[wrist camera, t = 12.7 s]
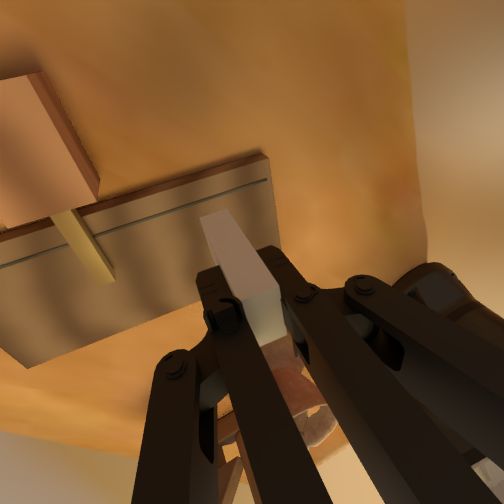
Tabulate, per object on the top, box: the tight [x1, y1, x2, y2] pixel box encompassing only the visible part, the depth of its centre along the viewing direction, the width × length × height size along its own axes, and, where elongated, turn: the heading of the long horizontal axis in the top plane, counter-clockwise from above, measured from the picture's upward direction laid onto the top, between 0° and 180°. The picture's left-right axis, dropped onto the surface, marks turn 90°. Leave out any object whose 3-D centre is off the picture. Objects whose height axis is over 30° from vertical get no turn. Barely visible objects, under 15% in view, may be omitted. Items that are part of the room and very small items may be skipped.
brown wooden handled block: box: [0, 71, 116, 287], centre depth 22 cm, size 6×16×5 cm, turn 10°
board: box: [0, 153, 281, 369], centre depth 29 cm, size 30×14×2 cm, turn 100°
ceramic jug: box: [227, 328, 338, 451], centre depth 41 cm, size 18×14×14 cm
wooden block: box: [218, 411, 262, 504], centre depth 48 cm, size 4×11×18 cm, turn 113°
